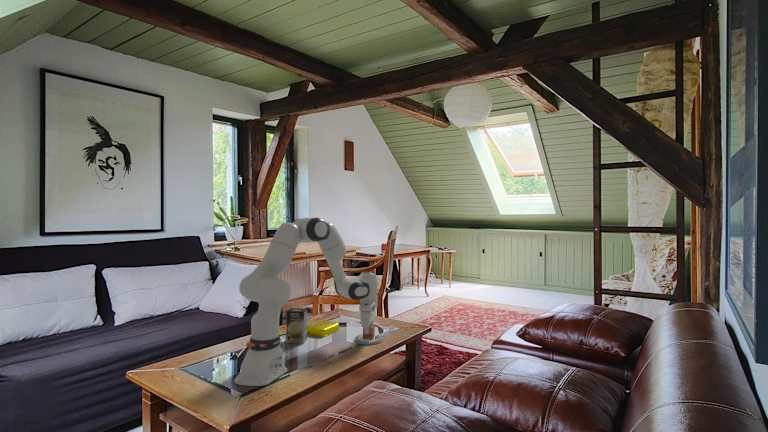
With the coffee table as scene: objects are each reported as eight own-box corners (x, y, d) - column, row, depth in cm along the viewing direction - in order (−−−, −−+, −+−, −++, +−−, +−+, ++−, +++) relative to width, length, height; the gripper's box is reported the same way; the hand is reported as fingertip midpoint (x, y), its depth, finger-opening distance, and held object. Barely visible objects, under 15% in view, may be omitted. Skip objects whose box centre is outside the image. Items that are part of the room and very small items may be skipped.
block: (372, 339, 209) (372, 327, 209) (362, 339, 210) (362, 327, 210) (374, 336, 214) (374, 324, 214) (364, 335, 215) (364, 324, 215)
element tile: (323, 338, 216) (323, 329, 216) (300, 333, 223) (300, 324, 223) (340, 330, 229) (340, 321, 229) (318, 326, 236) (318, 317, 236)
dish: (380, 345, 204) (380, 343, 204) (352, 343, 206) (352, 341, 206) (384, 336, 218) (384, 334, 218) (358, 334, 220) (358, 332, 220)
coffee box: (285, 343, 207) (285, 311, 206) (289, 339, 213) (289, 307, 213) (303, 344, 206) (303, 311, 205) (307, 339, 212) (307, 308, 212)
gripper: (366, 298, 222) (366, 324, 223) (358, 308, 202) (358, 336, 202) (378, 299, 221) (378, 325, 222) (371, 309, 201) (371, 337, 201)
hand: (368, 330), depth 212 cm, fingers open, 8 cm apart
